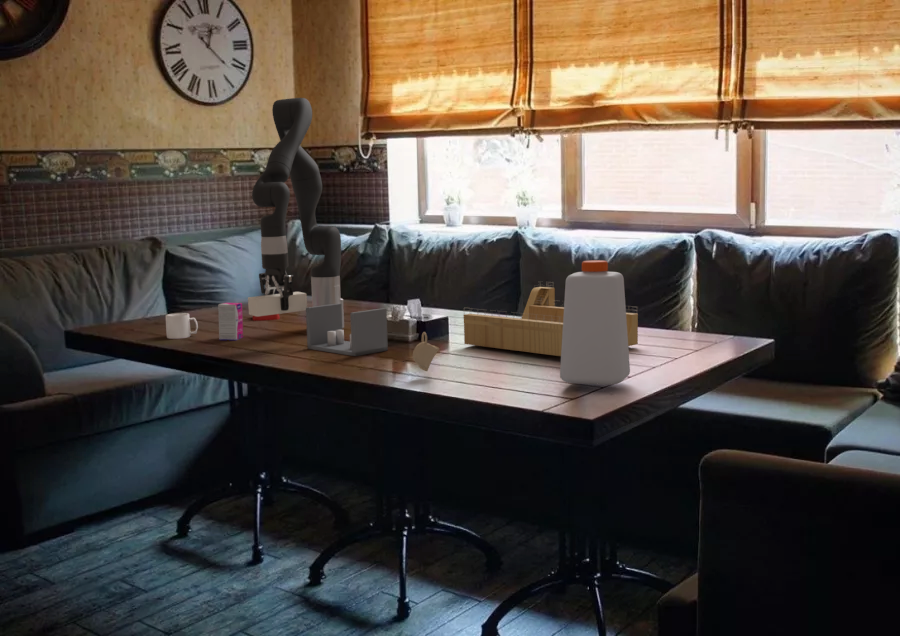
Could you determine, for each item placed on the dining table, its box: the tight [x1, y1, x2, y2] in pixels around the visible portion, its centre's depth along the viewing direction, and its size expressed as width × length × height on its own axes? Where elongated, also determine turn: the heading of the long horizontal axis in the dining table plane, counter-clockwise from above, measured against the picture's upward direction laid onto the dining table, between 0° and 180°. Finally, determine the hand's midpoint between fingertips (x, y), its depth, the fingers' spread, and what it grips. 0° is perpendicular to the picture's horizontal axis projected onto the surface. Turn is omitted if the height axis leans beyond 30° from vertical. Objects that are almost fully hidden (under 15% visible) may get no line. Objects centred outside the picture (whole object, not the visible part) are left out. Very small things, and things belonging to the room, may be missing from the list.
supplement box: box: [217, 302, 244, 342], centre depth 314 cm, size 6×6×12 cm
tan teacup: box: [412, 331, 440, 372], centre depth 254 cm, size 4×8×5 cm
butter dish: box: [252, 314, 281, 322], centre depth 352 cm, size 12×12×8 cm
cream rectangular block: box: [247, 291, 308, 317], centre depth 295 cm, size 16×6×5 cm, turn 125°
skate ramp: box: [463, 280, 639, 357], centre depth 290 cm, size 40×35×16 cm
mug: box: [165, 312, 199, 340], centre depth 321 cm, size 10×7×8 cm
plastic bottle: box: [559, 259, 631, 386], centre depth 238 cm, size 15×15×28 cm
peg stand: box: [305, 304, 389, 357], centre depth 290 cm, size 22×12×12 cm, turn 45°
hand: (278, 309), depth 295 cm, fingers closed on cream rectangular block, 6 cm apart
